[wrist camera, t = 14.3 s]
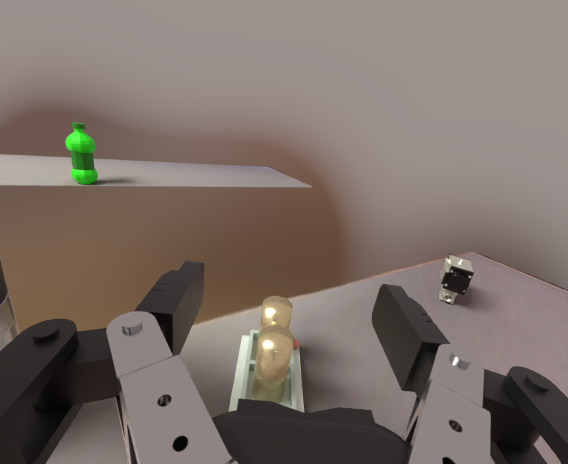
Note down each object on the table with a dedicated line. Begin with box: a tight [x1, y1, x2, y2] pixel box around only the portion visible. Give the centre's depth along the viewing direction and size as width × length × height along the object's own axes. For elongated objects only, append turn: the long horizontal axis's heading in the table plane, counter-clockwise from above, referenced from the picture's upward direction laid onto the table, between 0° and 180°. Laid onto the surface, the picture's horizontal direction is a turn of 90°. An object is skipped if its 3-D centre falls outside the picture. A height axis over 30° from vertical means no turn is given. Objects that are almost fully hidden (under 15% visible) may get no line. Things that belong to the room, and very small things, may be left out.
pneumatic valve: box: [439, 254, 474, 304], centre depth 70 cm, size 6×12×12 cm, turn 152°
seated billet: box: [256, 296, 292, 355], centre depth 43 cm, size 4×4×10 cm
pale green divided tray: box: [228, 330, 304, 412], centre depth 42 cm, size 10×14×3 cm
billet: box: [252, 325, 294, 404], centre depth 37 cm, size 4×4×10 cm
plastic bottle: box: [66, 123, 98, 184], centre depth 118 cm, size 10×10×25 cm
